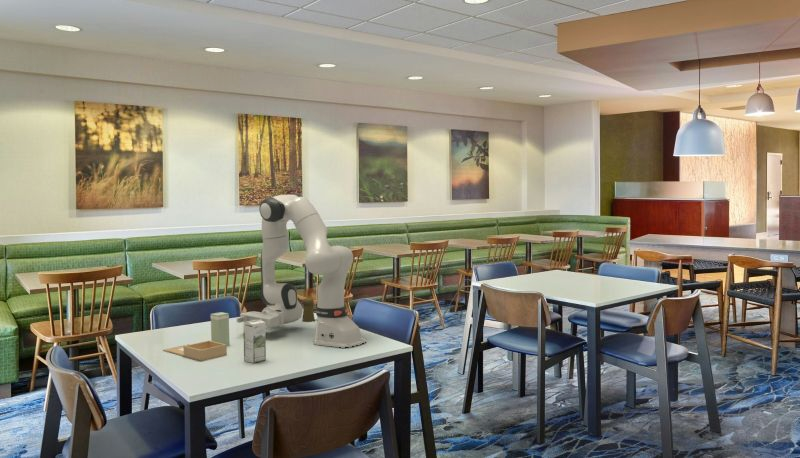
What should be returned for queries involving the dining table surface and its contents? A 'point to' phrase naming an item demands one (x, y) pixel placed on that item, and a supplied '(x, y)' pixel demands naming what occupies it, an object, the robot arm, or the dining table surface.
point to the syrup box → (254, 341)
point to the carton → (220, 328)
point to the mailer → (200, 350)
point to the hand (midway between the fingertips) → (244, 321)
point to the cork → (308, 310)
